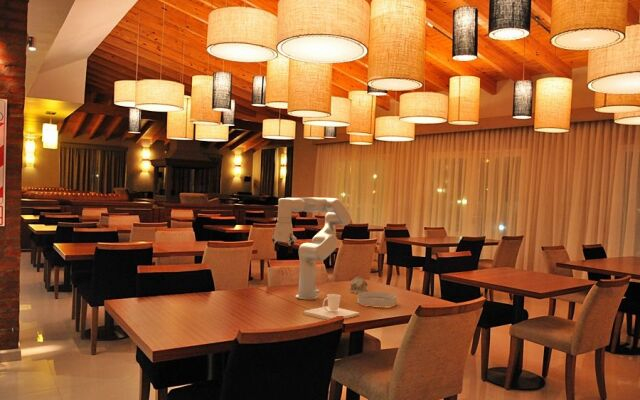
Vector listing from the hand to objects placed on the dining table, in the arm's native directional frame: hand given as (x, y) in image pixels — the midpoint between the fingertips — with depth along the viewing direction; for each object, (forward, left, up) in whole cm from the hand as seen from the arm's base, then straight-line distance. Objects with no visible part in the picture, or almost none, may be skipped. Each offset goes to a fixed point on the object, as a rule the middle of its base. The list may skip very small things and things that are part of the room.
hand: (283, 251), depth 286 cm
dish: (-40, +36, -28) cm, 61 cm away
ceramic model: (-60, +9, -28) cm, 67 cm away
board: (+2, +37, -28) cm, 46 cm away
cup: (+2, +36, -26) cm, 45 cm away
